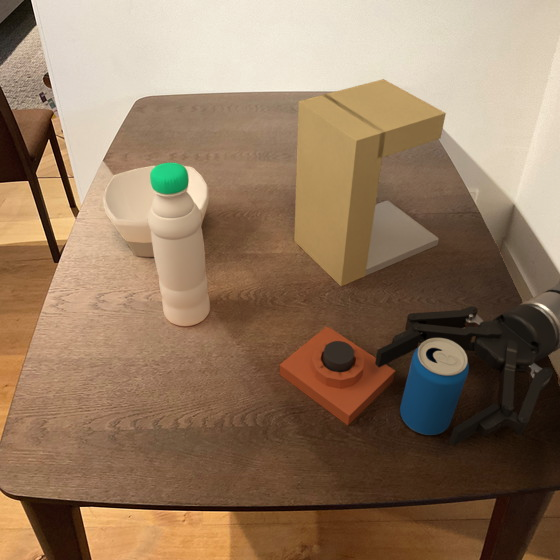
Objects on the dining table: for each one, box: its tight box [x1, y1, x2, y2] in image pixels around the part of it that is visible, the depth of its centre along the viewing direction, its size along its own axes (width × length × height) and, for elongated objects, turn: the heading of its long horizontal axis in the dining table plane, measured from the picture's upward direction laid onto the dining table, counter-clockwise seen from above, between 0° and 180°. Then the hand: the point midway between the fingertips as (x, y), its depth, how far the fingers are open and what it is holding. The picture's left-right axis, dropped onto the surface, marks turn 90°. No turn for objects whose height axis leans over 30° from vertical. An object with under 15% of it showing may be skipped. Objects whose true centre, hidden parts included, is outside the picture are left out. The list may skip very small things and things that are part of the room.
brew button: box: [323, 341, 354, 372], centre depth 76 cm, size 4×4×2 cm
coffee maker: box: [293, 78, 447, 287], centre depth 93 cm, size 14×21×26 cm, turn 122°
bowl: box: [102, 165, 210, 258], centre depth 100 cm, size 18×18×9 cm
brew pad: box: [279, 326, 396, 426], centre depth 78 cm, size 12×10×4 cm
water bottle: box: [148, 162, 211, 327], centre depth 80 cm, size 7×7×25 cm
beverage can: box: [399, 338, 470, 436], centre depth 71 cm, size 6×6×12 cm
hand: (413, 395), depth 69 cm, fingers open, 13 cm apart
